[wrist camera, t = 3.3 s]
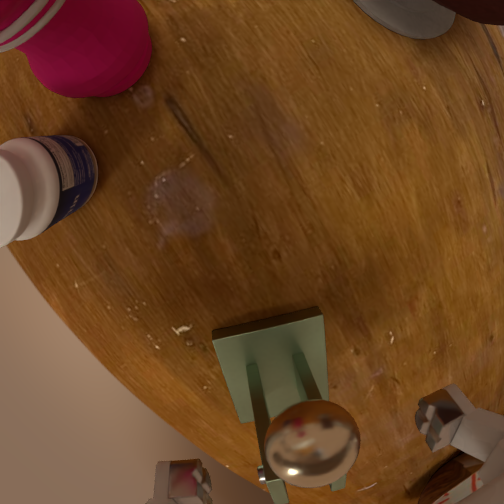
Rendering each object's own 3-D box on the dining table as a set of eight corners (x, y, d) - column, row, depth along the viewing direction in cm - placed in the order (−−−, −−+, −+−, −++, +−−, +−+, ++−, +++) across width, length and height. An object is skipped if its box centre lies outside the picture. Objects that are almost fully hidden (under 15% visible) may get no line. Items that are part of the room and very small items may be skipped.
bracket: (211, 330, 25) (217, 462, 14) (318, 306, 26) (384, 420, 14) (239, 413, 29) (255, 523, 18) (325, 393, 30) (367, 494, 18)
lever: (250, 400, 9) (272, 499, 7) (351, 374, 10) (382, 466, 7) (274, 452, 20) (284, 493, 17) (320, 440, 20) (331, 481, 17)
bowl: (396, 508, 51) (407, 531, 44) (410, 470, 42) (426, 501, 35) (477, 463, 52) (490, 482, 44) (507, 411, 42) (526, 433, 35)
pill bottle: (54, 223, 21) (-20, 276, 12) (26, 159, 19) (-61, 181, 9) (113, 189, 21) (48, 229, 11) (83, 120, 19) (2, 115, 9)
